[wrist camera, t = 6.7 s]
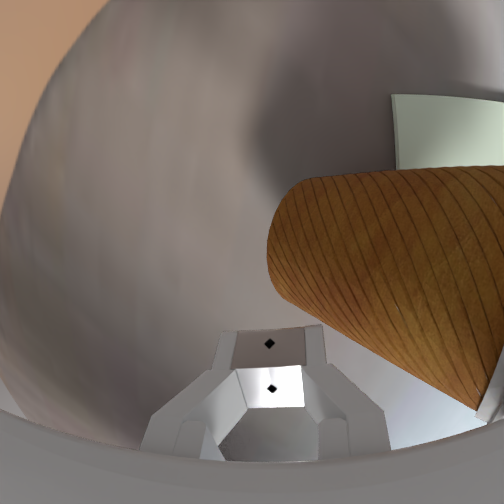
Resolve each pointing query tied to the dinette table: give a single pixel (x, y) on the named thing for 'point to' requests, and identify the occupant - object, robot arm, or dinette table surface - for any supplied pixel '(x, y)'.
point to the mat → (447, 131)
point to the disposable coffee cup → (404, 270)
